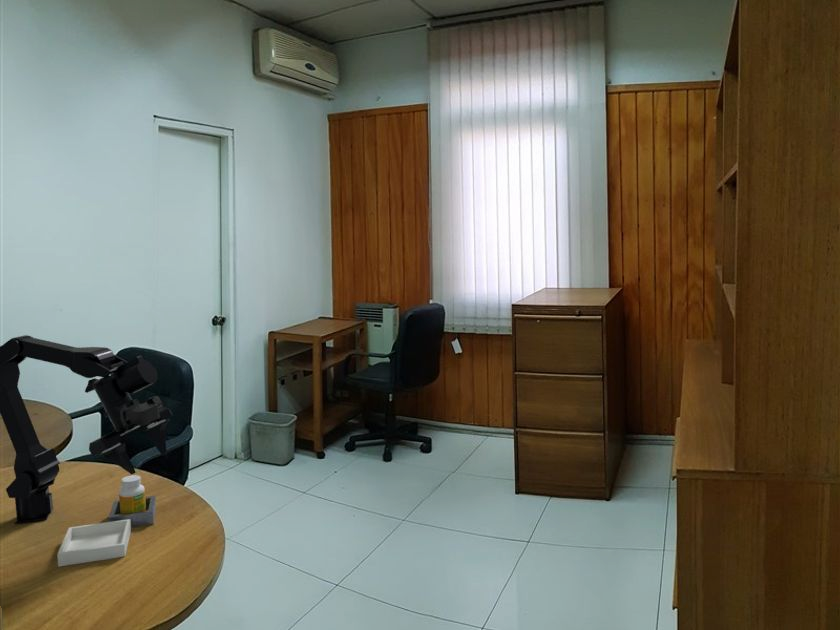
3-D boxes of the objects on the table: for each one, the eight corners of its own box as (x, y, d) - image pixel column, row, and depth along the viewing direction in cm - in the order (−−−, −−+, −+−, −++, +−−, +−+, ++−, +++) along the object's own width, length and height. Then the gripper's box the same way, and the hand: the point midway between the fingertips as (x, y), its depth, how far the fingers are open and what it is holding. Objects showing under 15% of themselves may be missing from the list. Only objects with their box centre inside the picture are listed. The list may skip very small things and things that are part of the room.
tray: (58, 566, 125) (57, 554, 124) (70, 538, 136) (69, 527, 136) (125, 556, 129) (124, 544, 128) (131, 530, 140) (130, 519, 140)
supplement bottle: (136, 525, 142) (134, 483, 141) (115, 523, 143) (112, 482, 142) (151, 514, 148) (148, 474, 146) (130, 512, 149) (128, 473, 147)
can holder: (109, 530, 140) (108, 517, 139) (114, 513, 148) (113, 501, 148) (153, 524, 143) (152, 511, 142) (156, 507, 151) (155, 495, 151)
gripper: (104, 405, 128) (139, 474, 129) (171, 375, 145) (202, 436, 145) (72, 422, 133) (107, 487, 134) (141, 391, 149) (171, 449, 150)
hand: (149, 464), depth 141 cm, fingers open, 9 cm apart
